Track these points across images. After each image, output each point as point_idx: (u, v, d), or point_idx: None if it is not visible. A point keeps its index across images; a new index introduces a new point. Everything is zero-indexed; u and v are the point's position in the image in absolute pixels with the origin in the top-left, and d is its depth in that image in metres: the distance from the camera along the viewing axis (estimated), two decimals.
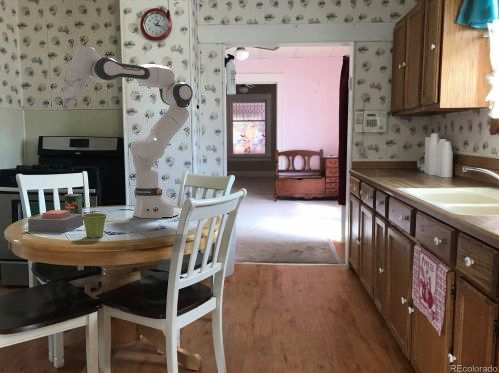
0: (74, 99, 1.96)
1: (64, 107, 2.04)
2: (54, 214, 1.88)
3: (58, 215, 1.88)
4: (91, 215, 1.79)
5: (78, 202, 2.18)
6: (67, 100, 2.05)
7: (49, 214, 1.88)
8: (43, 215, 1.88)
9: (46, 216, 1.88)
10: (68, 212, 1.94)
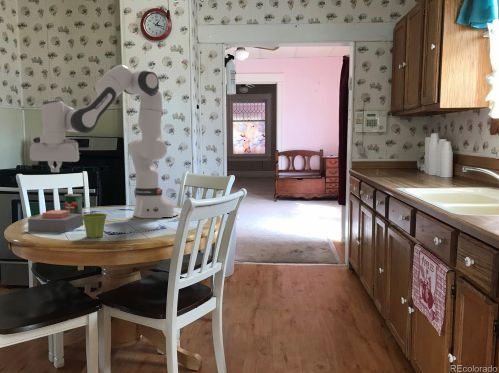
0: (60, 162, 1.90)
1: None
2: (54, 214, 1.88)
3: (58, 215, 1.88)
4: (91, 215, 1.79)
5: (78, 202, 2.18)
6: (52, 161, 1.90)
7: (49, 214, 1.88)
8: (43, 215, 1.88)
9: (46, 216, 1.88)
10: (68, 212, 1.94)
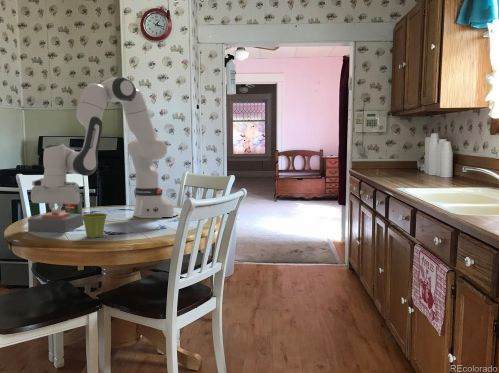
0: (61, 204, 1.91)
1: None
2: (54, 216, 1.88)
3: (58, 217, 1.88)
4: (91, 215, 1.79)
5: None
6: None
7: (49, 216, 1.88)
8: (43, 217, 1.88)
9: None
10: (68, 214, 1.94)
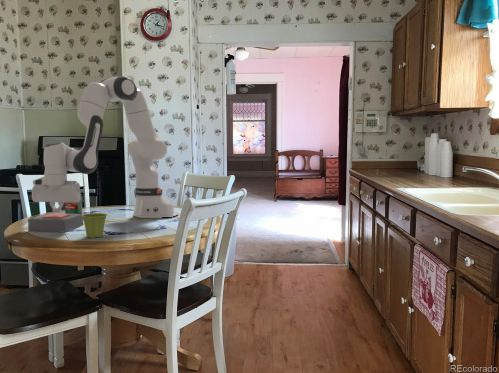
0: (62, 203, 1.91)
1: None
2: None
3: None
4: (91, 215, 1.79)
5: (78, 202, 2.18)
6: (54, 202, 1.92)
7: None
8: None
9: None
10: (68, 215, 1.94)
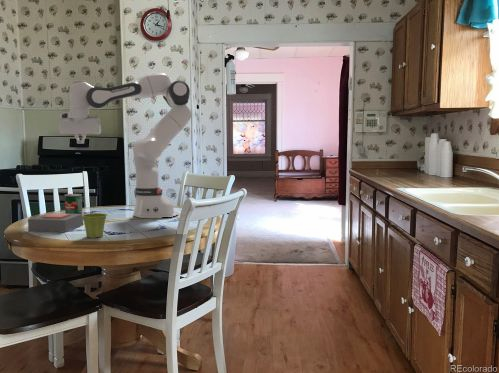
0: (85, 135, 2.20)
1: None
2: None
3: None
4: (91, 215, 1.79)
5: (78, 202, 2.18)
6: (78, 134, 2.20)
7: None
8: None
9: None
10: (68, 215, 1.94)
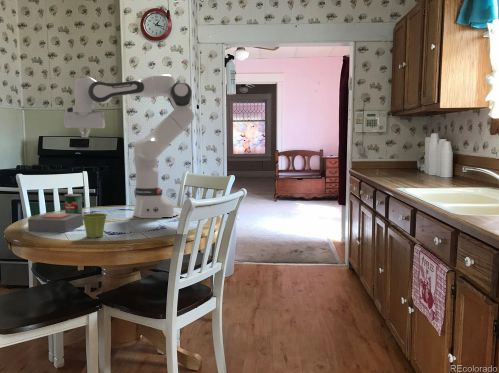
0: (89, 129, 2.26)
1: None
2: None
3: None
4: (91, 215, 1.79)
5: (78, 202, 2.18)
6: (82, 128, 2.26)
7: None
8: None
9: None
10: (68, 215, 1.94)
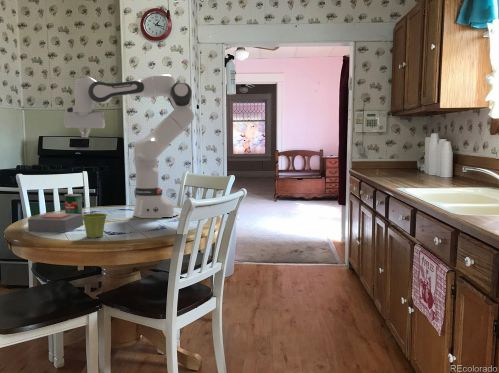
0: (89, 129, 2.26)
1: None
2: None
3: None
4: (91, 215, 1.79)
5: (78, 202, 2.18)
6: (82, 128, 2.26)
7: None
8: None
9: None
10: (68, 215, 1.94)
